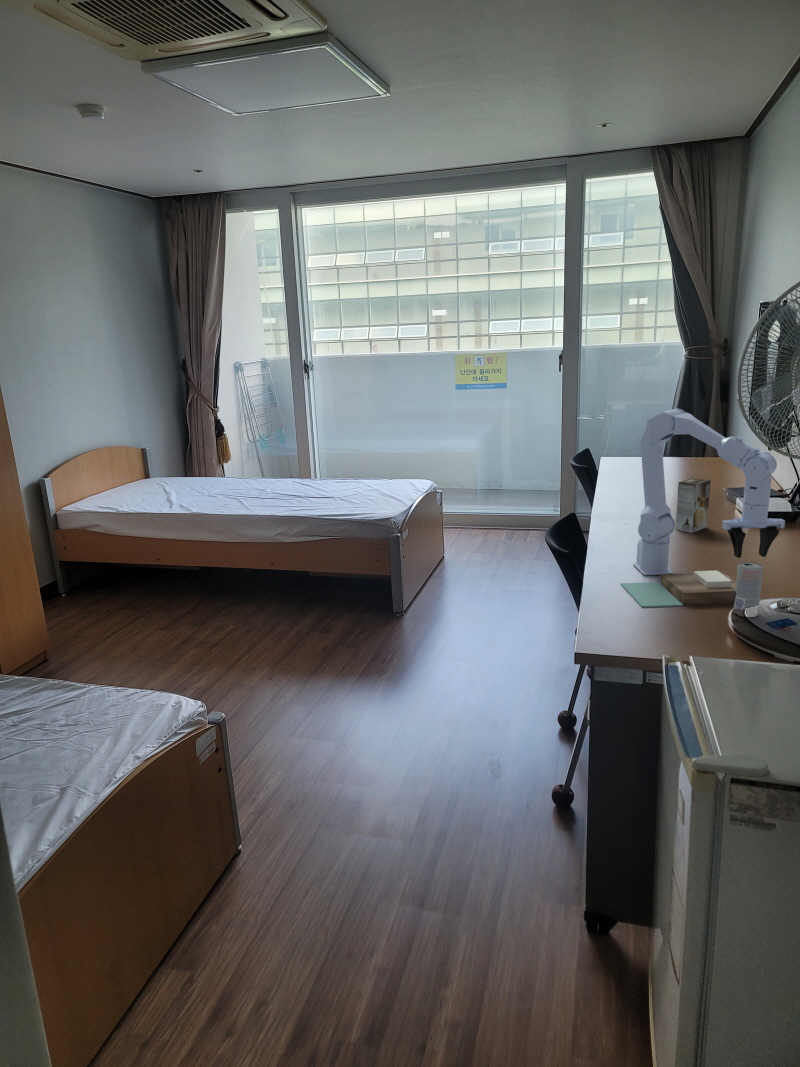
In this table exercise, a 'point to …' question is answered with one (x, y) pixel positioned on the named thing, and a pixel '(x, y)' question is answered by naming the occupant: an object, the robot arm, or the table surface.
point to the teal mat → (651, 594)
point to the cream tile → (712, 579)
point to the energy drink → (748, 585)
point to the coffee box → (692, 505)
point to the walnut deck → (697, 589)
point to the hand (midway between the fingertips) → (749, 556)
